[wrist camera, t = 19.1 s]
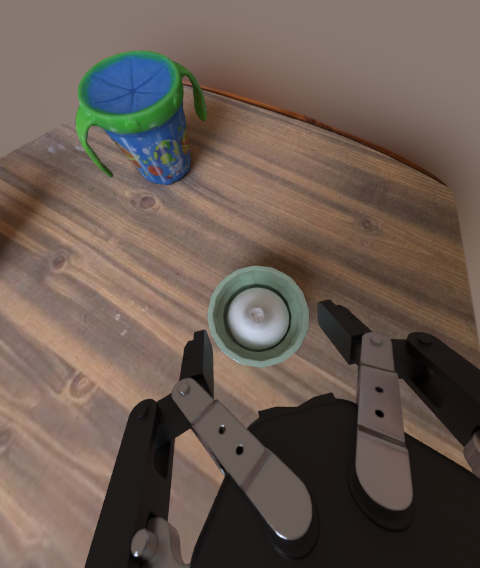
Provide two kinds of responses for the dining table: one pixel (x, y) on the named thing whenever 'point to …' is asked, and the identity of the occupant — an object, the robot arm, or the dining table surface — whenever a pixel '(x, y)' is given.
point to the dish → (266, 280)
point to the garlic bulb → (258, 318)
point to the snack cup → (140, 112)
